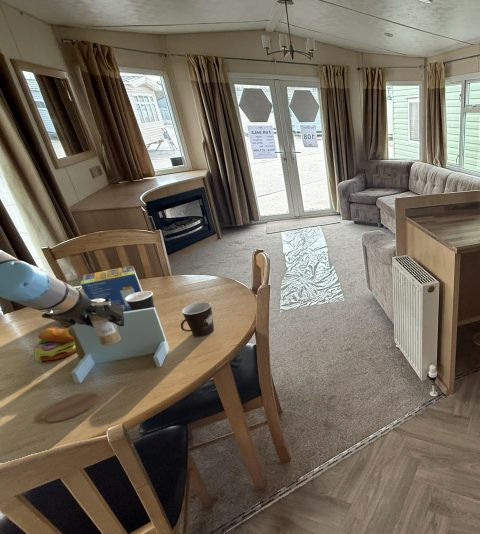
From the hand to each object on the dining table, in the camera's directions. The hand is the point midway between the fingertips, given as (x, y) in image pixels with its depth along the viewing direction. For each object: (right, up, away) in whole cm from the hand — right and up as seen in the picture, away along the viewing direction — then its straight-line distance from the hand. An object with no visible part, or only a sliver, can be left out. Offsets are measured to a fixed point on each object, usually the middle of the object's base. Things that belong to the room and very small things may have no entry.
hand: (111, 323), depth 101 cm
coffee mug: (+12, -7, +20) cm, 25 cm away
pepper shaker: (-15, -12, +9) cm, 21 cm away
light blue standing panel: (+1, -14, +4) cm, 14 cm away
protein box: (-29, 0, +35) cm, 45 cm away
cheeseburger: (-25, -11, +9) cm, 29 cm away
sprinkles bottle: (+1, -5, -2) cm, 6 cm away
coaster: (+1, -20, -11) cm, 23 cm away
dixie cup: (-12, -4, +27) cm, 30 cm away
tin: (-42, -4, +26) cm, 49 cm away
